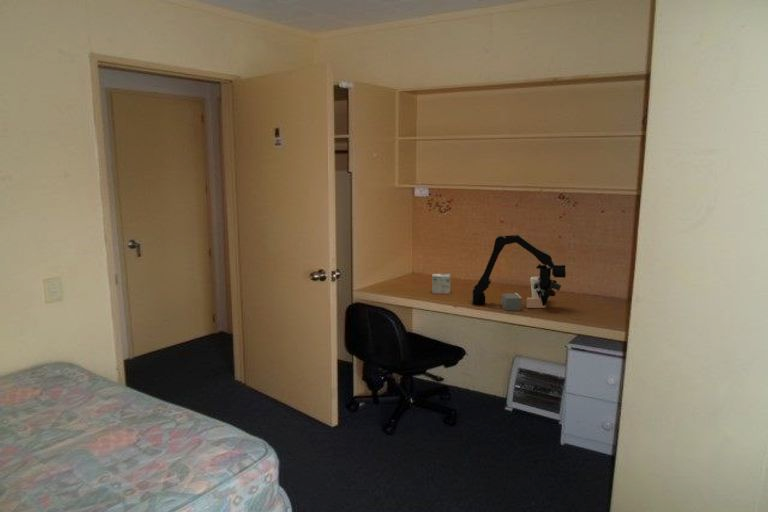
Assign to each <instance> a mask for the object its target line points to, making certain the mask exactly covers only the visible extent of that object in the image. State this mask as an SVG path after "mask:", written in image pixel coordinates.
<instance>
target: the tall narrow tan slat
mask: <svg viewBox="0 0 768 512" xmlns="http://www.w3.org/2000/svg"><path fill="white" fill-rule="evenodd" d="M525 303H526V305H525V307H526V308H527V309H529V308H531V309H532V308H533V309H534V308H535V309H537V308H539V309H540V308H541V309H543V308H546V307H547V304H546V305H545V306H543V304H542V301H541V298H532V297H526V302H525Z"/></svg>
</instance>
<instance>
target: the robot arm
mask: <svg viewBox="0 0 768 512" xmlns="http://www.w3.org/2000/svg"><path fill="white" fill-rule="evenodd" d="M510 244H518V245H519V247H522V248H524V249H525V250H526V251H527V252H528V253H530V254H532V255H533V256H534V257H535V258H536V259H537V260H538V262H540V263H538V264H537V265H536V266H535V267H536V269H539V275H538V277H539V278H538V280H539V283H535V284H534V289H536V288H538V291H536V292H537V294H538V296H539V298H541V301H542V304H543V306H545V305H546V306H547V302H548V299H549V297H555V296H556V291H559V292H560V289H561V287H562V285H561V284H559V283H558V282H557V280H556V279H551V276H553V277H554V278H558V279H559V278H561V279H562V278H564V279H565V278H566V275H567V274H566V273H567V272H566V265H565V264H555V263H554V262H553V259H552V255H551V254H550V253H548V252H546V251H544V250H542V249H540V248H537V246H535V245H533V244H531V242H529V241H528V240H526V239H525V238H523V237H522V236H521V235H519V234H517V233H516V234H511V235H502V234H499V235H497V236H496V237H495V241H494V245H493V250H492V252H491V254H490V257H489V259H488V261H487V264H486V267H485V269H484V270H483V271H484V272H483V273H482V275H481V276H480V278H479V279H478V280H477V284H476V285H475V286H473V289H472V292H471V304H472V305H473V306H484V305H485V306H486V304H485V303H486V295H485V291H486V290H487V289H489V287H490V284H491V282H492V278H490V277H491V274H492V272H493V270H494V267H495V265H496V262H497V260H498V258H499V256H500V253H501V252H502V250H503V249H504V248H505V246H507V245H510ZM553 289H554V290H556V291H554V290H553Z"/></svg>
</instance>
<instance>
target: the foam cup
mask: <svg viewBox="0 0 768 512" xmlns="http://www.w3.org/2000/svg"><path fill="white" fill-rule="evenodd" d="M538 278H539V276H531V277H530V281H529V282H530V287H531V298H539V296H538V294H537V292H536V291H538V288H536V289H534V284H535V283H539V280H538Z"/></svg>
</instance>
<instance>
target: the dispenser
mask: <svg viewBox="0 0 768 512" xmlns="http://www.w3.org/2000/svg"><path fill="white" fill-rule="evenodd" d="M522 298H523V297H522V296H521V295H520V294H518V293H517V292H514V293H501V301H500V302H501V307H502V309H504V310H505V311H509V312H510V311H522Z"/></svg>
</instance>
